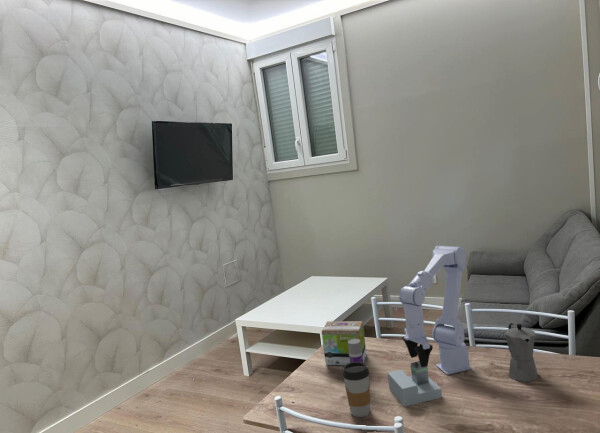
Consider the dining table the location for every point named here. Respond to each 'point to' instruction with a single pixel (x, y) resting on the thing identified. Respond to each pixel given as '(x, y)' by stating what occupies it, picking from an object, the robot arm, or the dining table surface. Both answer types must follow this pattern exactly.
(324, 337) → the tea box
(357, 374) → the coffee cup
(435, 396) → the stepped stand
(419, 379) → the column
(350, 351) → the container
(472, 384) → the dining table surface
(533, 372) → the coffeepot
